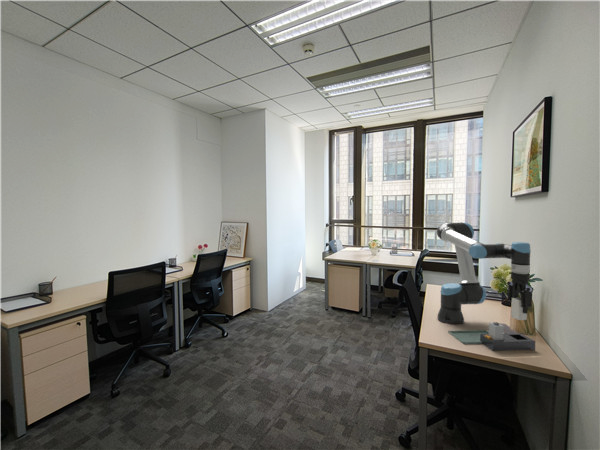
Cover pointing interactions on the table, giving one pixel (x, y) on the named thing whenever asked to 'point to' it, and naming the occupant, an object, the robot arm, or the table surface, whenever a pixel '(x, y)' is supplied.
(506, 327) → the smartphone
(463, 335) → the tray
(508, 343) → the strip
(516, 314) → the plug
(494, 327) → the twin plug
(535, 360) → the table surface
